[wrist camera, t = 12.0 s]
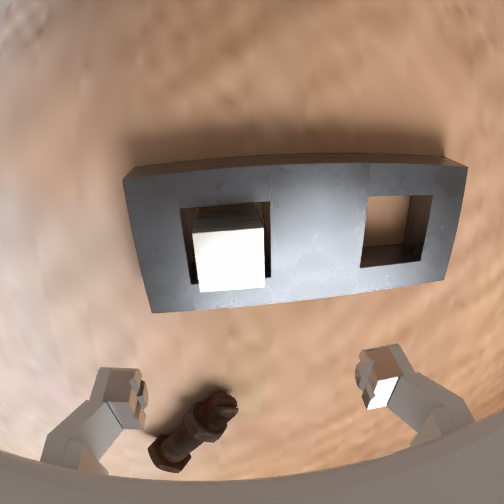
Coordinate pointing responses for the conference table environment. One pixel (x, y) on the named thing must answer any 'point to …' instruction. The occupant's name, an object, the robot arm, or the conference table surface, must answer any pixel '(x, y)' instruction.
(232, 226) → the wood grain block
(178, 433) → the bolt
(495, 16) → the conference table surface
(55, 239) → the conference table surface
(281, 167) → the grey slotted board
